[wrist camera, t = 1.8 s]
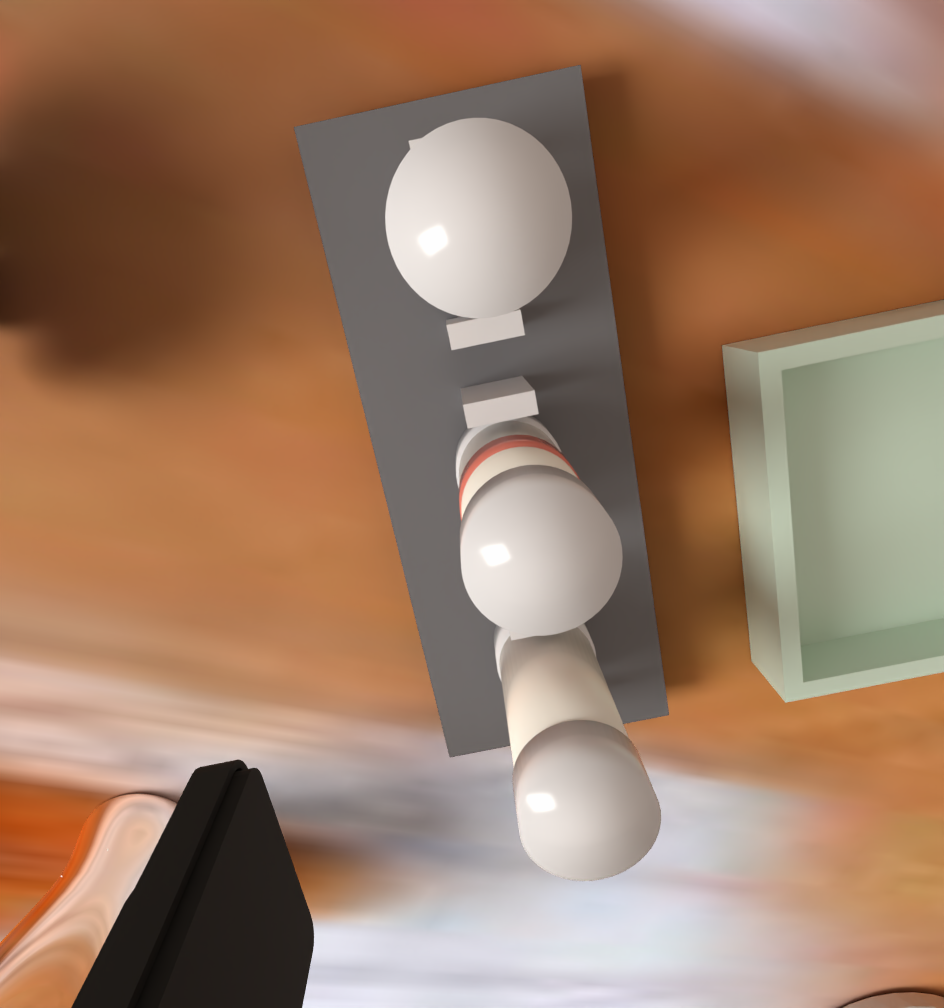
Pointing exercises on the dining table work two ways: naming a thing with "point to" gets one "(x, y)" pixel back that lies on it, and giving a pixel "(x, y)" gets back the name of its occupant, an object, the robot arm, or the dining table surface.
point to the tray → (842, 499)
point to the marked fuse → (531, 531)
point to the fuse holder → (484, 389)
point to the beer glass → (81, 904)
